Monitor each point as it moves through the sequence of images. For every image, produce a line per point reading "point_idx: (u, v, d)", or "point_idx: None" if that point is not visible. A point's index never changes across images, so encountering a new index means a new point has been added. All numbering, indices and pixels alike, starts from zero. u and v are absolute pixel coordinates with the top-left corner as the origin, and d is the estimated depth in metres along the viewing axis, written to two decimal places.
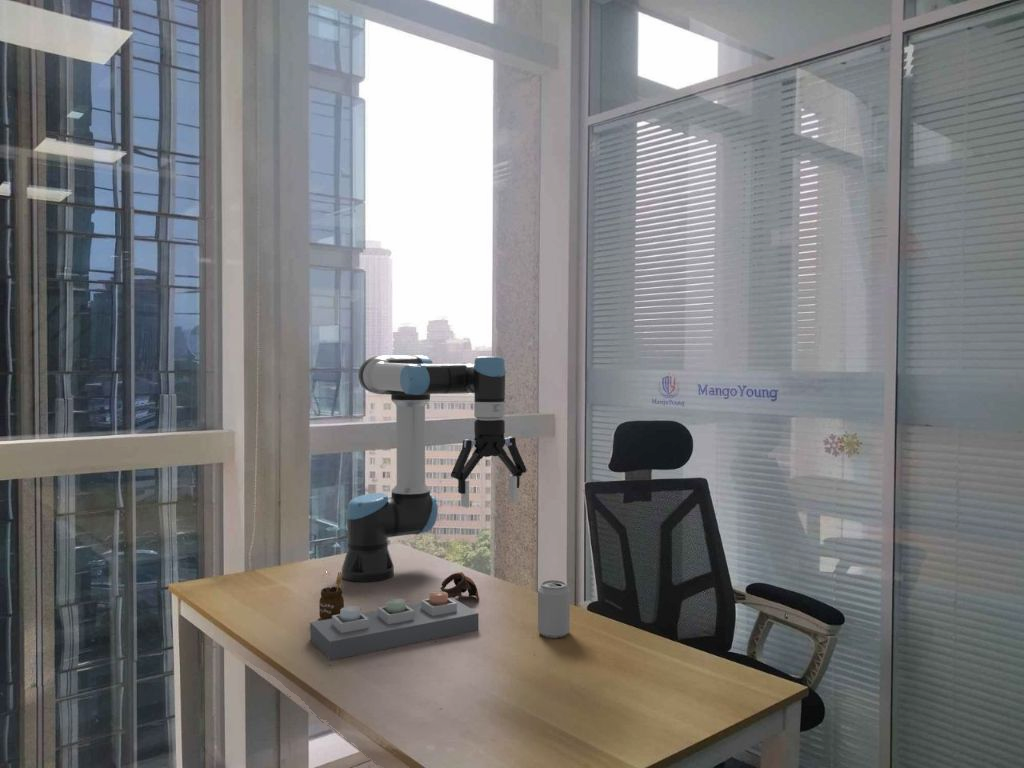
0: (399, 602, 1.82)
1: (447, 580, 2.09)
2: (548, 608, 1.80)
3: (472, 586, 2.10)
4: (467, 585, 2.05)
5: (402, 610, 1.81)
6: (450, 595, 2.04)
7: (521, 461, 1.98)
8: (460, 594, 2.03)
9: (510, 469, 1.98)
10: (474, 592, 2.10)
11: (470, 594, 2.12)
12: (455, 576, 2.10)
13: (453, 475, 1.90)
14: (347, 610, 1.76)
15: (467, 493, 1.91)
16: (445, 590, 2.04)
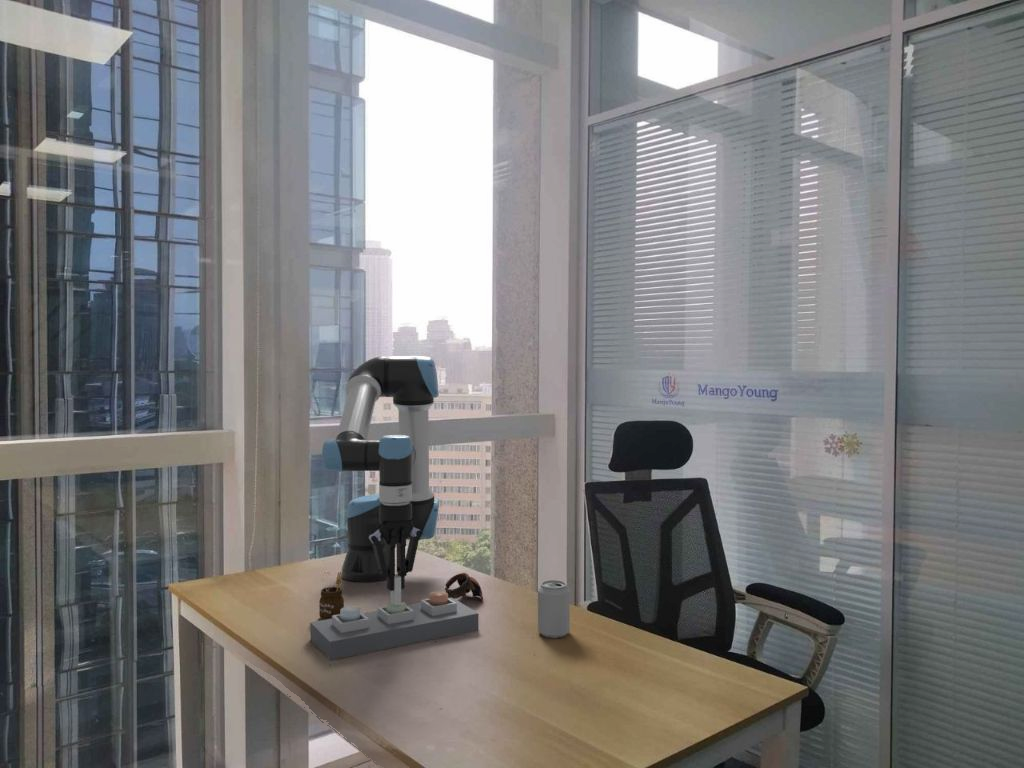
0: (399, 605, 1.82)
1: (451, 580, 2.09)
2: (548, 608, 1.80)
3: (476, 586, 2.10)
4: (471, 585, 2.05)
5: None
6: (454, 595, 2.03)
7: (413, 558, 1.83)
8: (465, 594, 2.03)
9: (398, 564, 1.83)
10: (478, 592, 2.10)
11: (474, 594, 2.11)
12: (459, 576, 2.09)
13: (381, 573, 1.80)
14: (347, 610, 1.76)
15: (396, 590, 1.81)
16: (449, 590, 2.04)
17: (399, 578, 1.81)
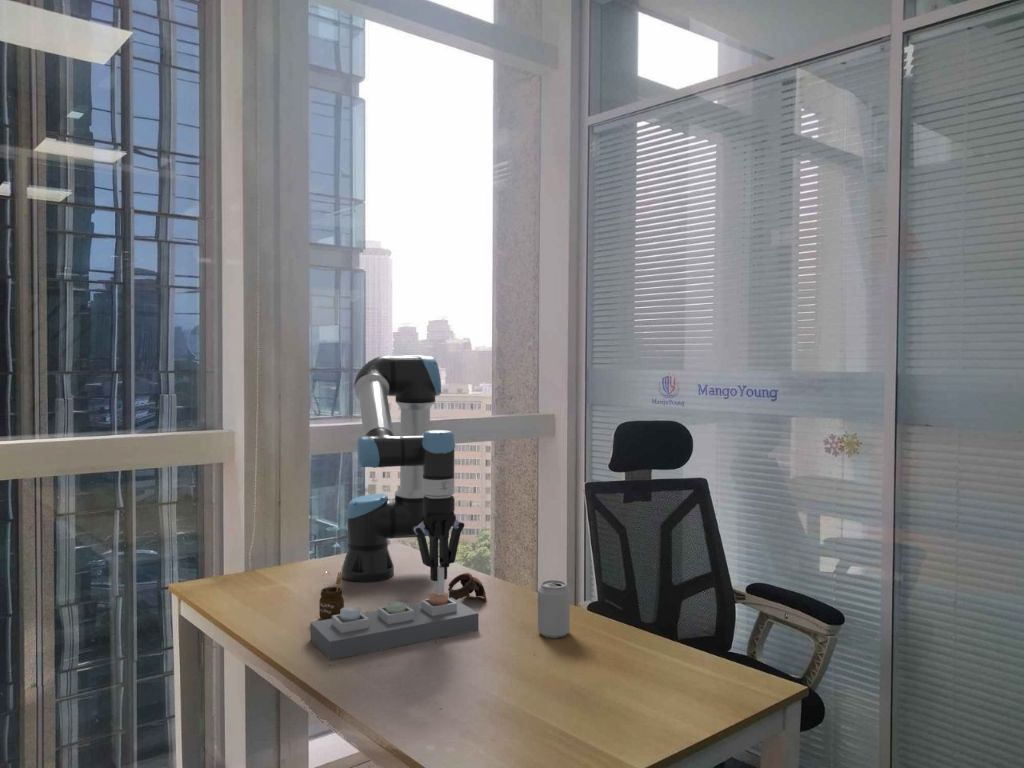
0: (399, 605, 1.82)
1: (454, 581, 2.09)
2: (548, 608, 1.80)
3: (479, 587, 2.09)
4: (475, 586, 2.05)
5: None
6: (458, 596, 2.03)
7: (455, 550, 1.89)
8: (468, 595, 2.03)
9: (441, 556, 1.88)
10: (481, 593, 2.10)
11: (477, 595, 2.11)
12: (462, 577, 2.09)
13: (425, 564, 1.86)
14: (347, 610, 1.76)
15: (439, 581, 1.87)
16: (453, 591, 2.04)
17: (442, 569, 1.87)
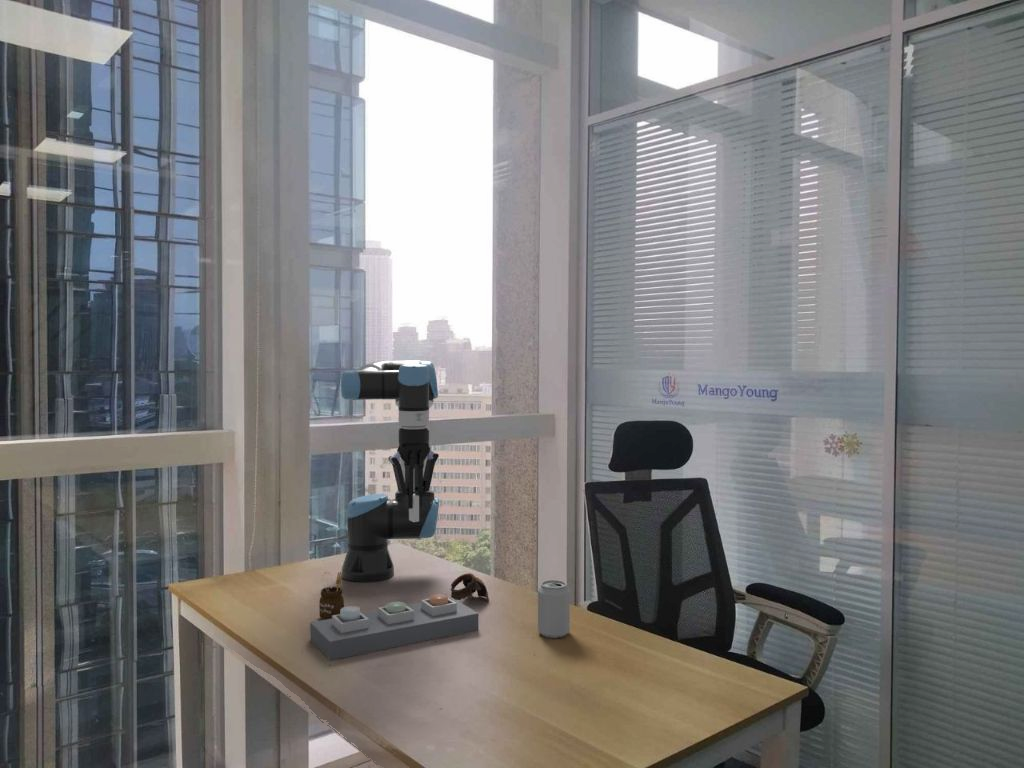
0: (399, 605, 1.82)
1: (457, 581, 2.08)
2: (548, 608, 1.80)
3: (482, 587, 2.09)
4: (477, 586, 2.04)
5: None
6: (461, 596, 2.03)
7: (430, 479, 1.97)
8: (471, 595, 2.03)
9: (416, 485, 1.96)
10: (483, 593, 2.10)
11: (479, 595, 2.11)
12: (464, 577, 2.09)
13: (401, 492, 1.94)
14: (347, 610, 1.76)
15: (414, 508, 1.95)
16: (455, 591, 2.04)
17: (417, 497, 1.95)
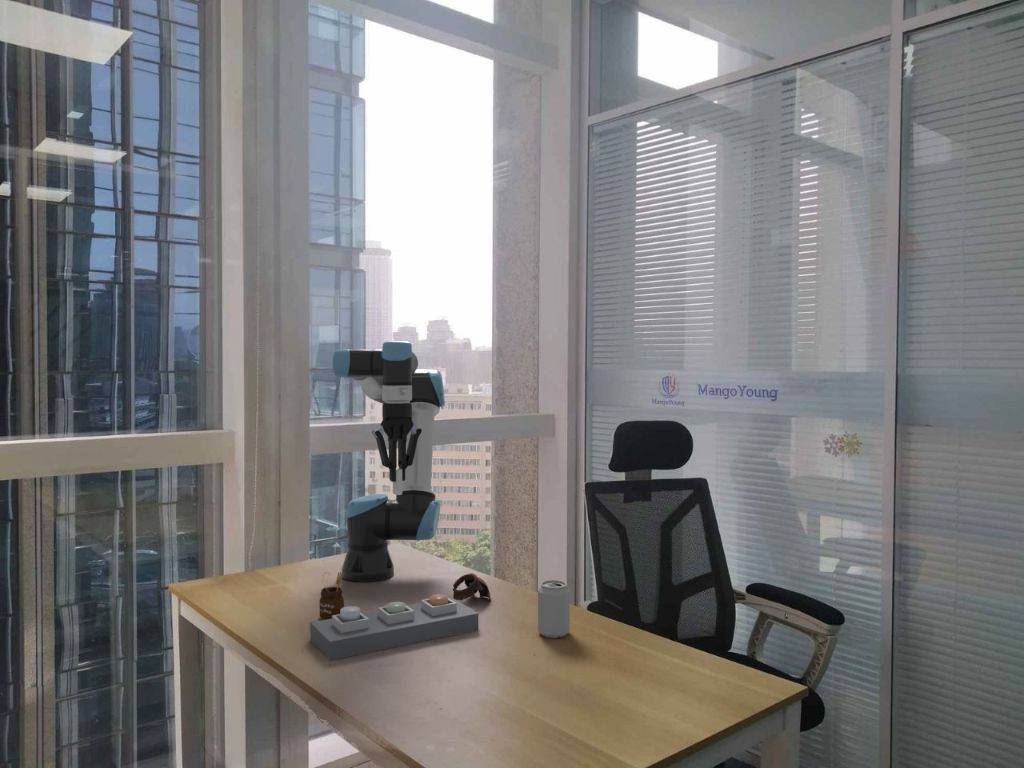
0: (399, 605, 1.82)
1: (459, 581, 2.08)
2: (548, 608, 1.80)
3: (484, 587, 2.09)
4: (480, 586, 2.04)
5: None
6: (463, 596, 2.03)
7: (413, 453, 2.02)
8: (473, 595, 2.03)
9: (399, 459, 2.01)
10: (486, 593, 2.09)
11: (481, 595, 2.11)
12: (467, 577, 2.09)
13: (384, 465, 1.99)
14: (347, 610, 1.76)
15: (397, 481, 2.00)
16: (458, 591, 2.03)
17: (400, 470, 2.00)
